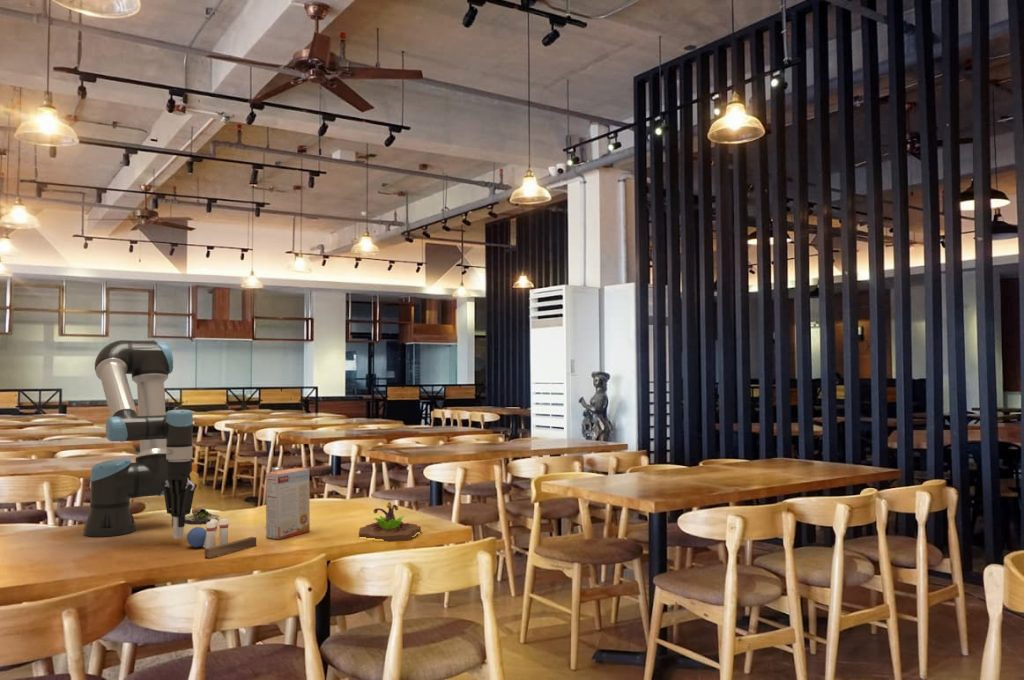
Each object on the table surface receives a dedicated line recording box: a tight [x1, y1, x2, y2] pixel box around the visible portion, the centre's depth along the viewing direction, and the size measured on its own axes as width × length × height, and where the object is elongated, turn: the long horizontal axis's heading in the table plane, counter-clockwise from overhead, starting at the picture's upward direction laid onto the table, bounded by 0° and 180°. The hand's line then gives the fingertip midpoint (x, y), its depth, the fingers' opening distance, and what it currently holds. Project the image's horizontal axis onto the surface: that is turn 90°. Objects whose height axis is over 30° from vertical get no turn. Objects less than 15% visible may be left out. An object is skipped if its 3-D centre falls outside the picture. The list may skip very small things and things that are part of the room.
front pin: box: [202, 519, 220, 549], centre depth 240 cm, size 2×2×8 cm
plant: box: [358, 502, 422, 543], centre depth 260 cm, size 20×20×11 cm
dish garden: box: [185, 502, 220, 525], centre depth 282 cm, size 12×12×8 cm
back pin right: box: [205, 521, 216, 549], centre depth 237 cm, size 2×2×8 cm
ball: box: [186, 526, 207, 549], centre depth 242 cm, size 6×6×6 cm
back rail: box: [204, 536, 257, 559], centre depth 237 cm, size 2×18×2 cm, turn 154°
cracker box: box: [265, 467, 311, 540], centre depth 260 cm, size 14×6×21 cm, turn 150°
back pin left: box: [218, 518, 229, 546], centre depth 241 cm, size 2×2×8 cm
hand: (178, 537), depth 246 cm, fingers closed
